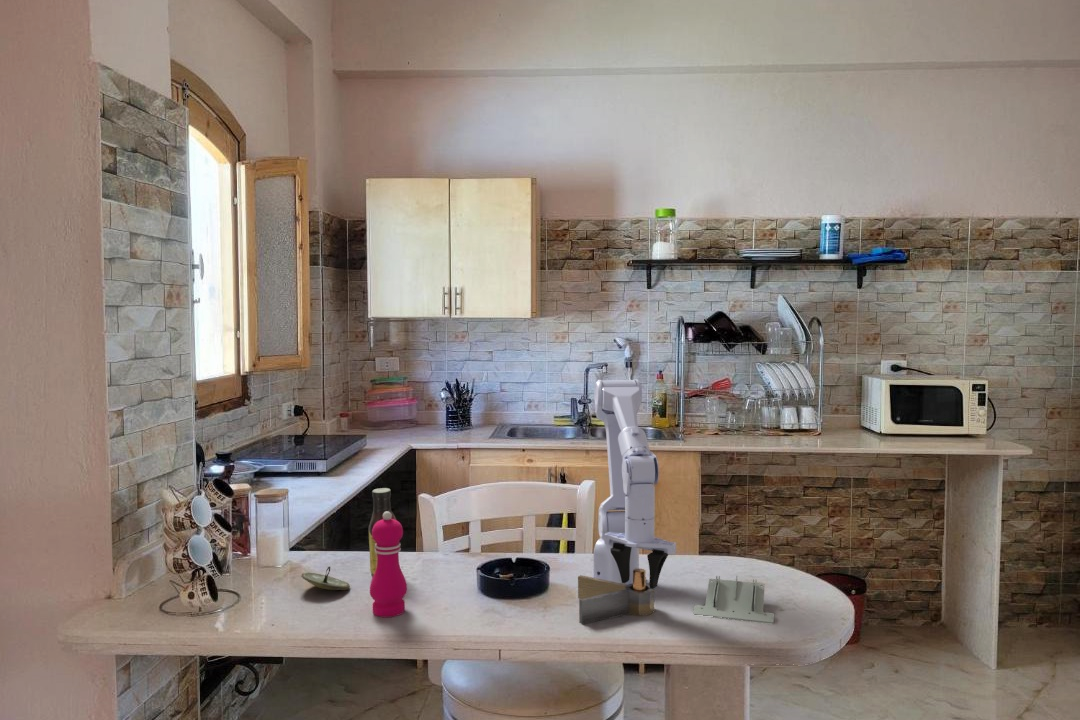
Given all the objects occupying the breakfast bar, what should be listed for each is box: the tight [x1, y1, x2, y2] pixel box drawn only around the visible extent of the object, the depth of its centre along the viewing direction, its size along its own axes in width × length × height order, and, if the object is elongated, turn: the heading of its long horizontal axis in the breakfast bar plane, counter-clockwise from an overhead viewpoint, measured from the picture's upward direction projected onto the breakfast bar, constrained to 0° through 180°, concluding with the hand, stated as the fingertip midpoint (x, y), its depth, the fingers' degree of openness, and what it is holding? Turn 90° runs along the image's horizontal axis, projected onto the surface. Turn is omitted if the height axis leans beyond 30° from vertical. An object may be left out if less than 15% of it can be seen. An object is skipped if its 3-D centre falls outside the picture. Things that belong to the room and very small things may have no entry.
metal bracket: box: [692, 575, 775, 625], centre depth 160 cm, size 14×6×15 cm
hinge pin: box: [633, 568, 646, 592], centre depth 158 cm, size 2×2×8 cm
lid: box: [301, 566, 351, 591], centre depth 170 cm, size 11×10×5 cm
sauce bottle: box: [368, 487, 400, 580], centre depth 177 cm, size 7×6×20 cm
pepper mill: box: [369, 511, 408, 618], centre depth 158 cm, size 7×7×20 cm
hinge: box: [577, 574, 655, 625], centre depth 157 cm, size 16×15×4 cm
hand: (639, 584), depth 158 cm, fingers open, 5 cm apart
